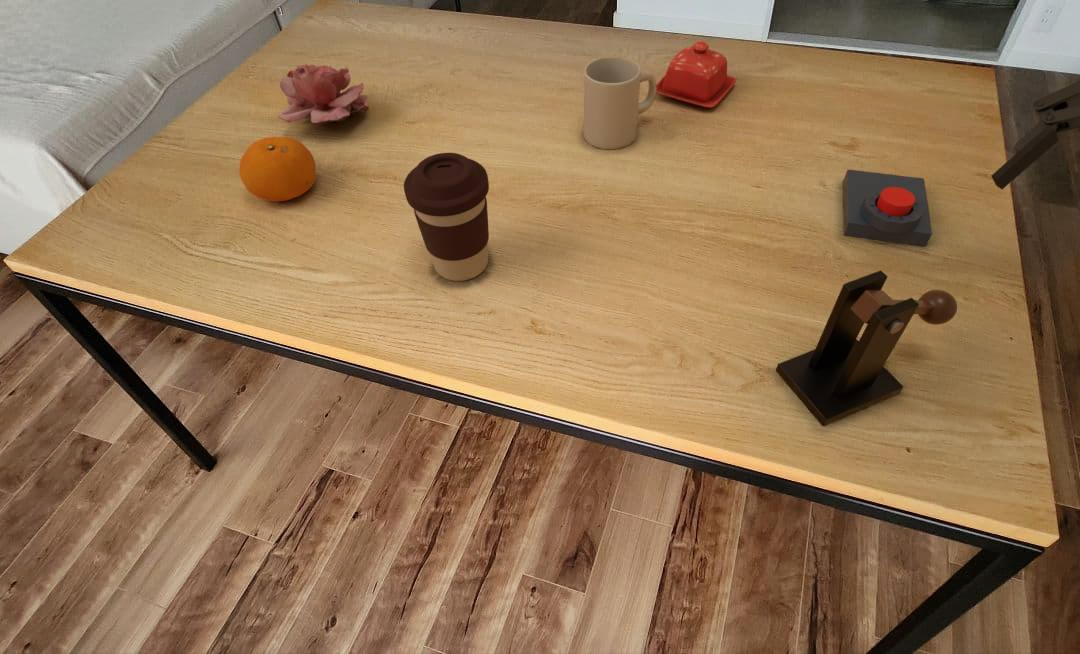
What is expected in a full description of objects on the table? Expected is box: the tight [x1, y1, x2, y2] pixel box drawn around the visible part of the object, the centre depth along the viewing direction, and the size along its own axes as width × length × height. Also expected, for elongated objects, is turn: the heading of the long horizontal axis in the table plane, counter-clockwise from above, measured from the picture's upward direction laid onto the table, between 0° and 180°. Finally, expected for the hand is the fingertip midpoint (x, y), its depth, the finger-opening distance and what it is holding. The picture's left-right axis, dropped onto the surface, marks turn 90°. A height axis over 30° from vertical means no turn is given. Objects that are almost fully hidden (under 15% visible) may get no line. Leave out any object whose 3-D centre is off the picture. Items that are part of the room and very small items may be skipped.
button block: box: [842, 168, 933, 247], centre depth 86 cm, size 13×10×4 cm
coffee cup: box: [403, 152, 490, 282], centre depth 80 cm, size 10×10×15 cm
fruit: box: [238, 136, 317, 202], centre depth 95 cm, size 10×10×8 cm
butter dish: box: [656, 40, 737, 109], centre depth 108 cm, size 12×12×8 cm
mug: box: [582, 56, 657, 150], centre depth 100 cm, size 12×8×11 cm
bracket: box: [775, 270, 919, 427], centre depth 65 cm, size 10×8×14 cm
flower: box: [278, 63, 370, 124], centre depth 107 cm, size 15×15×10 cm
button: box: [877, 187, 915, 217], centre depth 82 cm, size 4×4×2 cm
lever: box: [850, 289, 958, 326], centre depth 64 cm, size 14×4×4 cm, turn 113°
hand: (1053, 220), depth 63 cm, fingers open, 13 cm apart
